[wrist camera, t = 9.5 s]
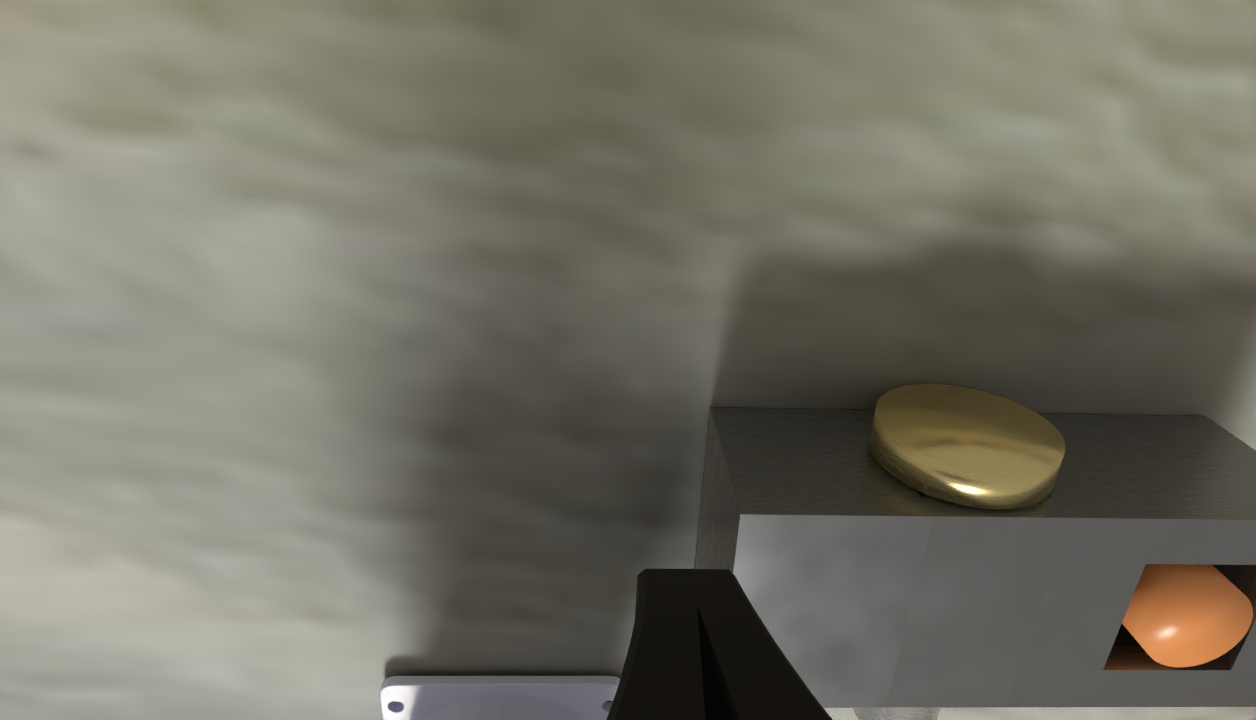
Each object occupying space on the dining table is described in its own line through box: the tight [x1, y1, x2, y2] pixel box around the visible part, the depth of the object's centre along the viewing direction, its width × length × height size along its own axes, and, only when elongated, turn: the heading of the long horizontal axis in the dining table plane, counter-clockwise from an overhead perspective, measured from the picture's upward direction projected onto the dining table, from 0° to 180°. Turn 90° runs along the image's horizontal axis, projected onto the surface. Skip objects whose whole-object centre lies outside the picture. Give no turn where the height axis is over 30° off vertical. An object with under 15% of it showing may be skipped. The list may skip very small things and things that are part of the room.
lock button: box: [1122, 564, 1253, 667], centre depth 20 cm, size 3×3×2 cm
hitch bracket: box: [695, 407, 1256, 708], centre depth 21 cm, size 6×14×5 cm, turn 88°
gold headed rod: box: [853, 384, 1066, 720], centre depth 21 cm, size 10×4×4 cm, turn 178°
